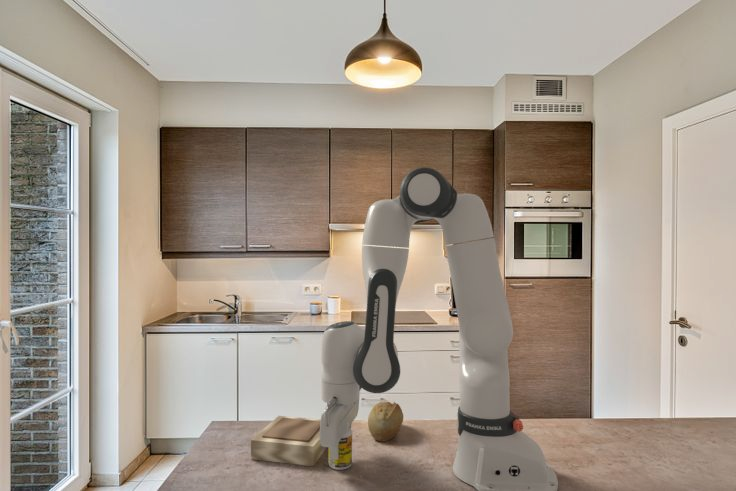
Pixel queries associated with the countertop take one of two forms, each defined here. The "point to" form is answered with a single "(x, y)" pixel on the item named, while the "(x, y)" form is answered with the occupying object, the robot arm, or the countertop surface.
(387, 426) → the bread roll
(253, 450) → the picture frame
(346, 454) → the supplement bottle
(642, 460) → the countertop surface
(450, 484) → the countertop surface
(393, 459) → the countertop surface
